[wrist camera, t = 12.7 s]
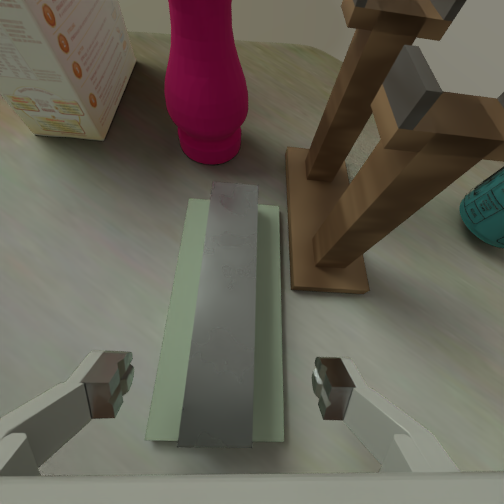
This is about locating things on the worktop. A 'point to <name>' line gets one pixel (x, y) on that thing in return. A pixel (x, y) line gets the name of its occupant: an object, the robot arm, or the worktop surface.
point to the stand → (381, 143)
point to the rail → (224, 325)
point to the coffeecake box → (64, 64)
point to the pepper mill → (205, 80)
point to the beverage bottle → (486, 210)
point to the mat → (182, 320)
